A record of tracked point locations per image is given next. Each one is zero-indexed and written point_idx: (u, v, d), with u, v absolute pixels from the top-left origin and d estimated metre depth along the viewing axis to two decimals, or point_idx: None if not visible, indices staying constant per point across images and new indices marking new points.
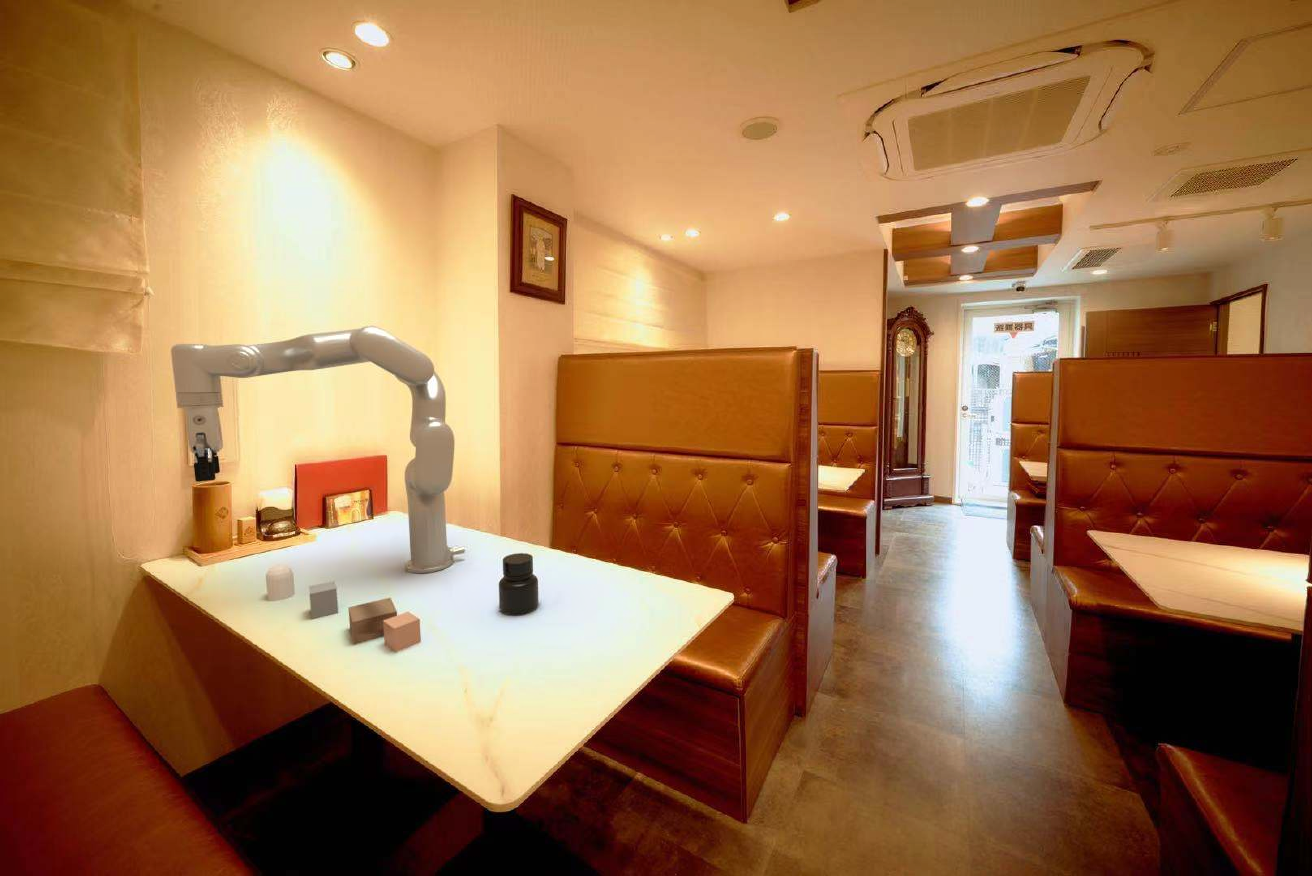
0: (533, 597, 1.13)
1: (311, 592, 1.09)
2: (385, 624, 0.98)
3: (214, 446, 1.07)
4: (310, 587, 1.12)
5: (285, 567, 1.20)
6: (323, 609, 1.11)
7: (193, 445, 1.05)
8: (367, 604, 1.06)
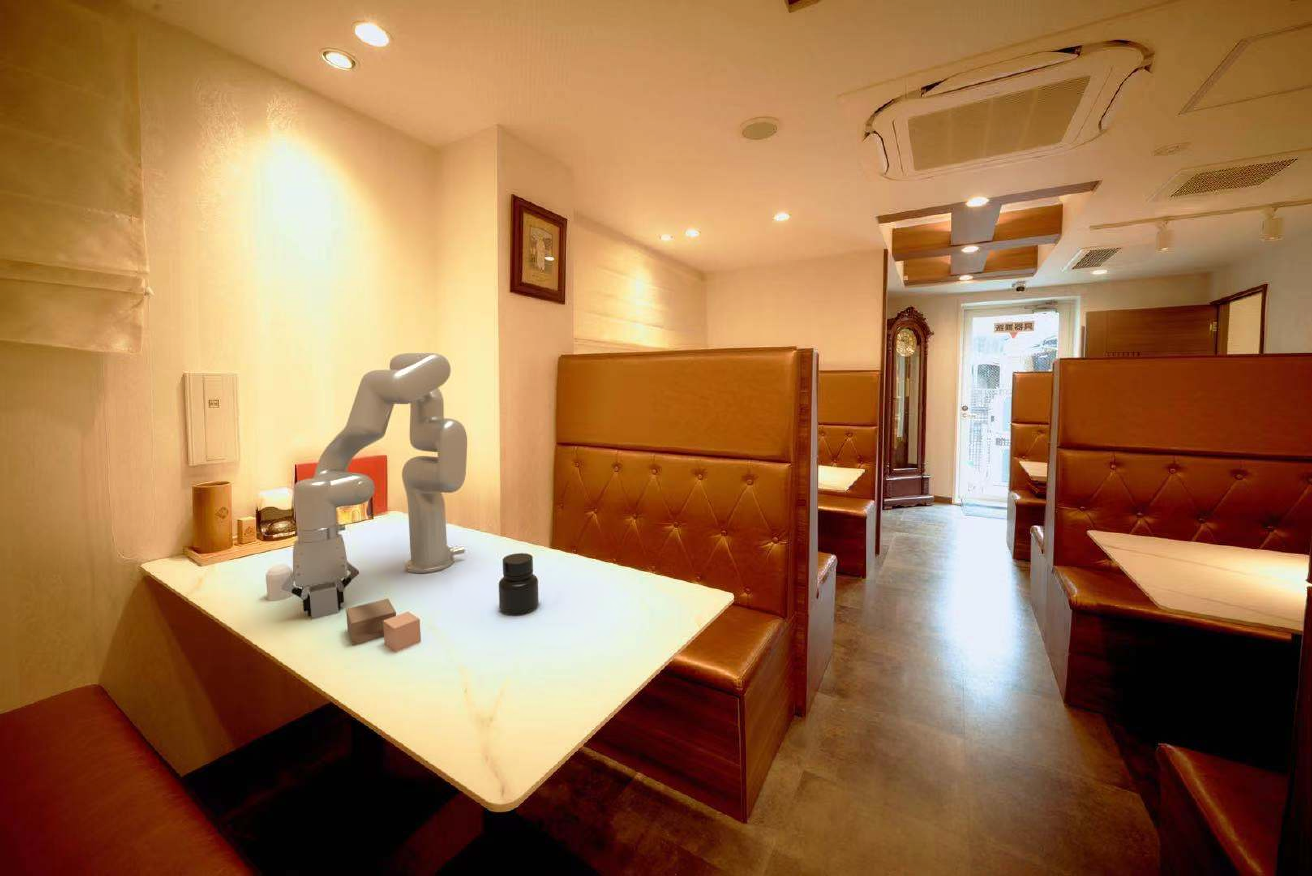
0: (533, 597, 1.13)
1: (311, 592, 1.09)
2: (385, 624, 0.98)
3: None
4: (310, 586, 1.12)
5: (285, 567, 1.20)
6: (323, 608, 1.11)
7: (347, 569, 1.14)
8: (365, 605, 1.06)
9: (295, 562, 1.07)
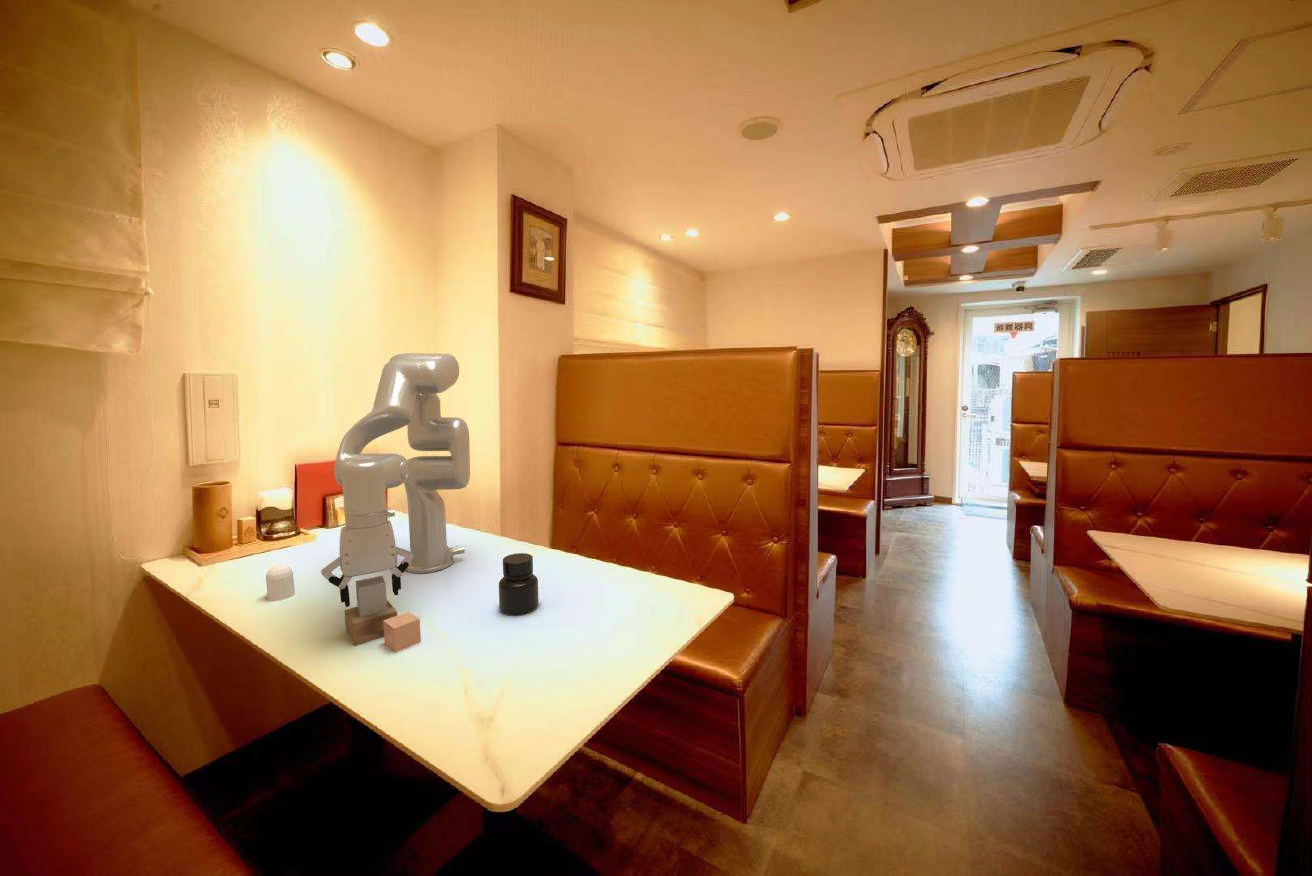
0: (533, 597, 1.13)
1: (359, 587, 1.01)
2: (385, 624, 0.98)
3: None
4: (357, 581, 1.04)
5: (285, 567, 1.20)
6: (372, 605, 1.02)
7: None
8: None
9: (343, 550, 0.98)
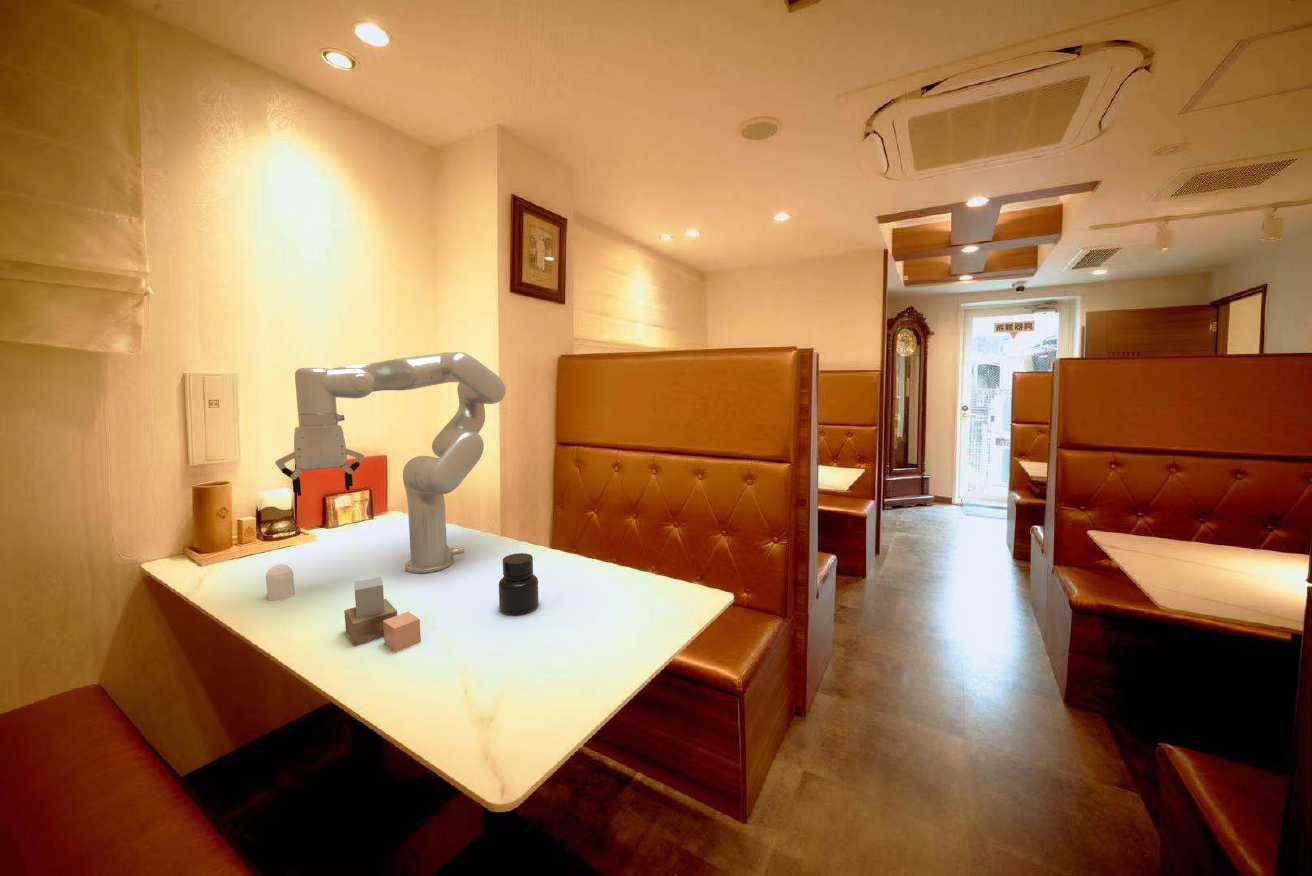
0: (533, 597, 1.13)
1: (356, 588, 1.00)
2: (385, 624, 0.98)
3: None
4: (355, 582, 1.03)
5: (285, 567, 1.20)
6: (369, 607, 1.01)
7: (346, 458, 1.18)
8: None
9: (296, 445, 1.11)
